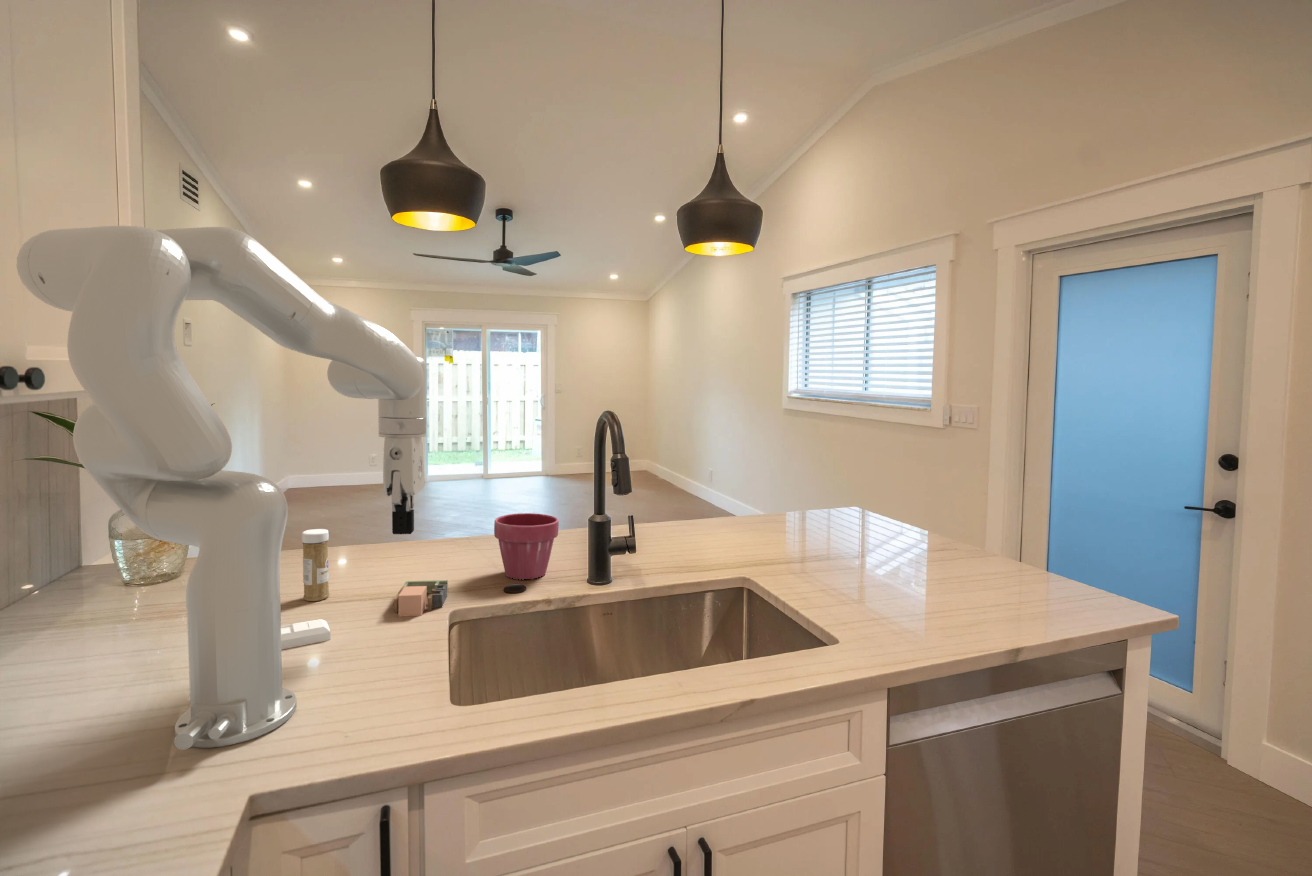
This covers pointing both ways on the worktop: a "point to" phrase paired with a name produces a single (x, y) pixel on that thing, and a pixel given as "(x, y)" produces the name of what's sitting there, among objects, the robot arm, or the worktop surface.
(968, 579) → the worktop surface
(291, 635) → the white flat block
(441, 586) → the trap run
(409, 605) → the block
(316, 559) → the sprinkles bottle
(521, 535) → the plant pot
